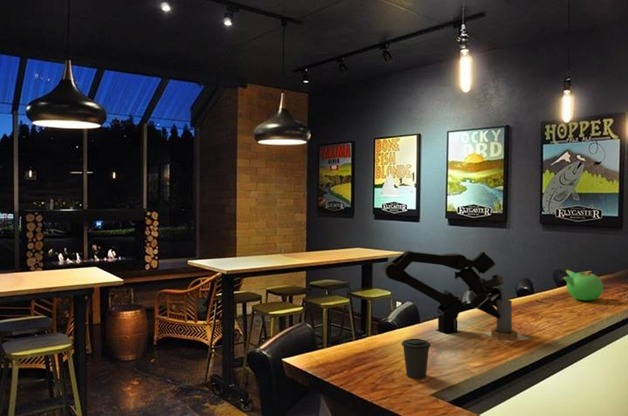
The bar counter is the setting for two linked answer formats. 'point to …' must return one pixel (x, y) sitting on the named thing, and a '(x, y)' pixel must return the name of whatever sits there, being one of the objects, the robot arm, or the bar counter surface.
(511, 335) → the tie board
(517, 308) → the bar counter surface
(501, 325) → the dark grey cylinder
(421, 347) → the coffee cup
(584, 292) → the toy bird
